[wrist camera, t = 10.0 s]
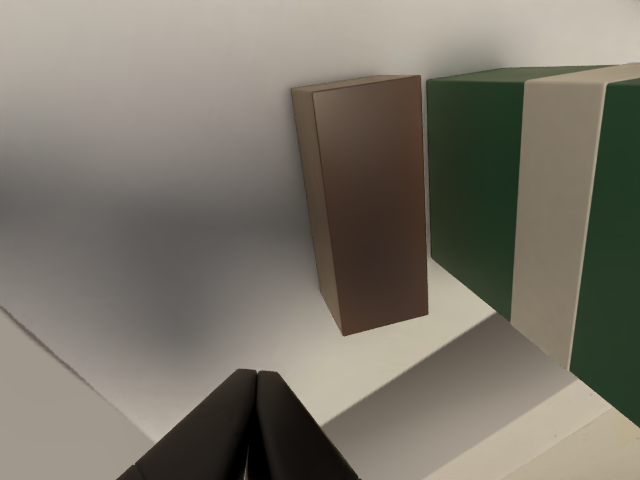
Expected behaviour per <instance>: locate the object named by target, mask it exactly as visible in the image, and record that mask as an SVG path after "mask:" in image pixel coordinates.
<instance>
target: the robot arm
mask: <svg viewBox="0 0 640 480" xmlns="http://www.w3.org/2000/svg"><path fill="white" fill-rule="evenodd" d="M246 462H247V463H246ZM245 469H246V474H245ZM244 476H245V480H361V479H358V476H357V474H356V473H355V472H354V470H353V469H352V468H351V466H350V465H349V464H348V462H347V461H346V460H345V459H344V457H343V456H342V455H341V453H340V452H339V451H338V449H337V448H336V447H335V446H334V444H333V443H332V442H331V440H330V439H329V438H328V437H327V435H326V434H325V433H324V431H323V430H322V429H321V427H320V426H319V425H318V424H317V422H316V421H315V420H314V418H313V417H312V416H311V415H310V413H309V412H308V411H307V409H306V408H305V407H304V405H303V404H302V403H301V402H300V400H299V399H298V398H297V396H296V395H295V394H294V392H293V391H292V390H291V389H290V387H289V386H288V385H287V383H286V382H285V381H284V380H283V378H282V377H281V376H280V374H279V373H277V372H273V371H259V372H258V375H257V371H256V370H251V369H237V370H236V371H235V372H234V373H232V374H231V375H230V376H229V377H228V378H227V379H226V380H225V381H224V382H223V383H222V384H221V385H219V386H218V387H217V388H216V389H215V390H214V391H213V392H212V393H211V394H210V395H209V396H208V397H206V398H205V399H204V400H203V401H202V402H201V403H200V404H199V405H198V406H197V407H196V408H194V409H193V410H192V411H191V412H190V413H189V414H188V415H187V416H186V417H185V418H184V419H183V420H181V421H180V422H179V423H178V424H177V425H176V426H175V427H174V428H173V429H172V430H171V431H170V432H168V433H167V434H166V435H165V436H164V437H163V438H162V439H161V440H160V441H159V442H158V443H156V444H155V445H154V446H153V447H152V448H151V449H150V450H149V451H148V452H147V453H146V454H145V455H144V456H142V457H141V458H140V459H139V460H138V461H137V462H136V463H135V465H132V466H131V467H129V468H128V469H127V470H126V471H125V472H124V473H123V474H122V475H121V476H120V477H119V478H117V479H116V480H244Z"/></svg>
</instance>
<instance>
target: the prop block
mask: <svg viewBox="0 0 640 480" xmlns="http://www.w3.org/2000/svg"><path fill="white" fill-rule="evenodd" d="M291 93H292V100H293V107H294V114H295V121H296V127H297V134H298V141H299V148H300V155H301V161H302V168H303V175H304V182H305V189H306V196H307V202H308V209H309V216H310V223H311V230H312V237H313V243H314V250H315V257H316V264H317V271H318V277H319V284H320V291H321V294H322V296H323V298H324V300H325V302H326V304H327V306H328V308H329V310H330V312H331V314H332V316H333V318H334V320H335V322H336V324H337V326H338V328H339V329H340V331H341V333H342V335H343V336H348V335H351V334H355V333H359V332H363V331H367V330H371V329H374V328H378V327H382V326H386V325H390V324H394V323H398V322H401V321H405V320H409V319H413V318H417V317H421V316H425V315H428V284H427V252H426V221H425V189H424V158H423V127H422V95H421V76H420V75H377V76H370V77H363V78H357V79H350V80H343V81H337V82H330V83H323V84H317V85H310V86H303V87H297V88H292V89H291Z"/></svg>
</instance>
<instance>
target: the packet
mask: <svg viewBox="0 0 640 480" xmlns="http://www.w3.org/2000/svg"><path fill="white" fill-rule="evenodd" d="M427 100H428V137H429V175H430V212H431V250H432V259H433V260H434V261H436V262H437V263H438V264H439V265H440V266H442V267H443V268H444V269H445V270H447V271H448V272H449V273H450V274H451V275H453V276H454V277H455V278H456V279H458V280H459V281H460V282H461V283H462V284H464V285H465V286H466V287H467V288H469V289H470V290H471V291H472V292H474V293H475V294H476V295H477V296H478V297H480V298H481V299H482V300H483V301H485V302H486V303H487V304H488V305H489V306H491V307H492V308H493V309H494V310H496V311H497V312H498V313H499V314H500V315H502V316H503V317H504V318H505V319H507V320H508V321H509V322H510V323H511V325H512V326H513V327H514V328H515V329H517V330H518V331H519V332H520V333H522V334H523V335H524V336H525V337H526V338H528V339H529V340H530V341H531V342H532V343H534V344H535V345H536V346H537V347H538V348H540V349H541V350H542V351H544V352H545V353H546V354H547V355H548V356H550V357H551V358H552V359H553V360H555V361H556V362H557V363H558V364H559V365H560V366H562V367H563V368H564V369H565V370H567V371H570V372H572V373H573V374H574V375H575V376H577V377H578V378H579V379H580V380H581V381H583V382H584V383H585V384H586V385H588V386H589V387H590V388H591V389H592V390H594V391H595V392H596V393H597V394H599V395H600V396H601V397H602V398H603V399H605V400H606V401H607V402H608V403H610V404H611V405H612V406H613V407H615V408H616V409H617V410H618V411H619V412H621V413H622V414H623V415H624V416H626V417H627V418H628V419H629V420H630V421H632V422H633V423H634V424H635V425H637V426H638V427H639V428H640V63H629V64H623V65H597V66H558V67H520V68H501V69H494V70H488V71H481V72H475V73H469V74H462V75H456V76H449V77H443V78H436V79H430V80H427Z"/></svg>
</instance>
